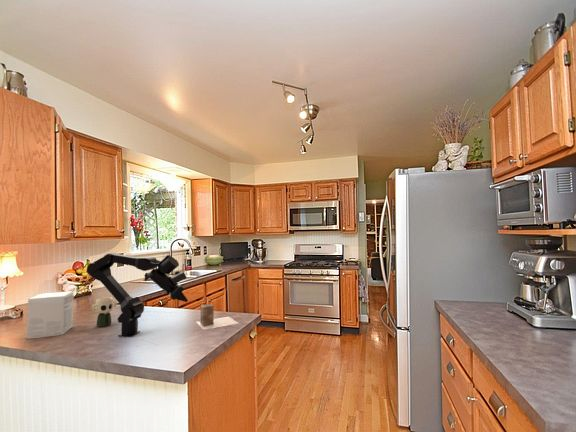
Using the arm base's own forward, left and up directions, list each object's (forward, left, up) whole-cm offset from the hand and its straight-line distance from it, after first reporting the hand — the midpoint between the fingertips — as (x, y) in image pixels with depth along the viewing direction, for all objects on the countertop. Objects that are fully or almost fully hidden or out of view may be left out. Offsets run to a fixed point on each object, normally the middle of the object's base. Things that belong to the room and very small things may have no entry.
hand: (187, 301), depth 133 cm
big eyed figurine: (+1, +45, -13) cm, 47 cm away
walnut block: (+6, -7, -12) cm, 16 cm away
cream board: (+9, -11, -13) cm, 19 cm away
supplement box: (-11, +62, -13) cm, 64 cm away
